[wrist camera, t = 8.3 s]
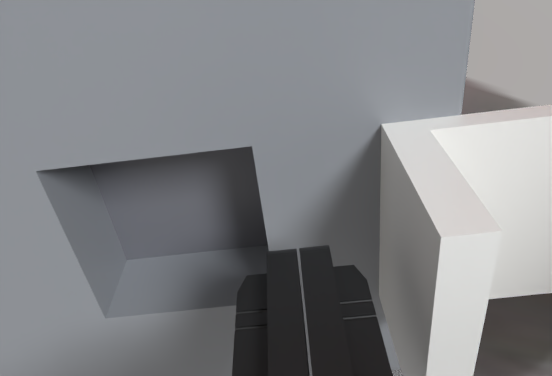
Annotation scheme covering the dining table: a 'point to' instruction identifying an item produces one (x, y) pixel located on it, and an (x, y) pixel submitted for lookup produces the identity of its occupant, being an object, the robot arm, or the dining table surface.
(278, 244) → the socket
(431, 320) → the white l-shaped bracket
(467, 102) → the dining table surface
